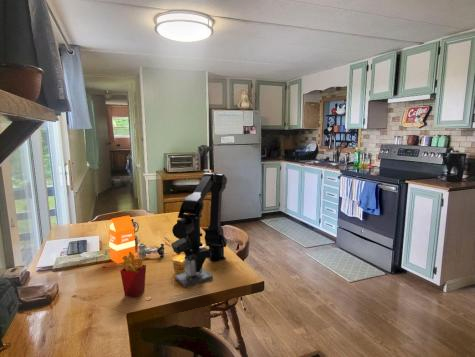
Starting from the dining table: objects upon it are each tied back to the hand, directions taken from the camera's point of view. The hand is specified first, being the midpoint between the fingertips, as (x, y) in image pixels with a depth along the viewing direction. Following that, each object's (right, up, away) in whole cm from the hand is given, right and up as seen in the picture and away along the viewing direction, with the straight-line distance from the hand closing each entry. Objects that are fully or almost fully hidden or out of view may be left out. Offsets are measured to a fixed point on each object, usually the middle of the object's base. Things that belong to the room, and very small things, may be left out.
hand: (193, 268), depth 120 cm
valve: (-24, -2, +23) cm, 33 cm away
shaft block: (0, -4, 0) cm, 4 cm away
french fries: (-21, -6, -11) cm, 25 cm away
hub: (0, -1, 0) cm, 1 cm away
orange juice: (-36, -2, +22) cm, 42 cm away
